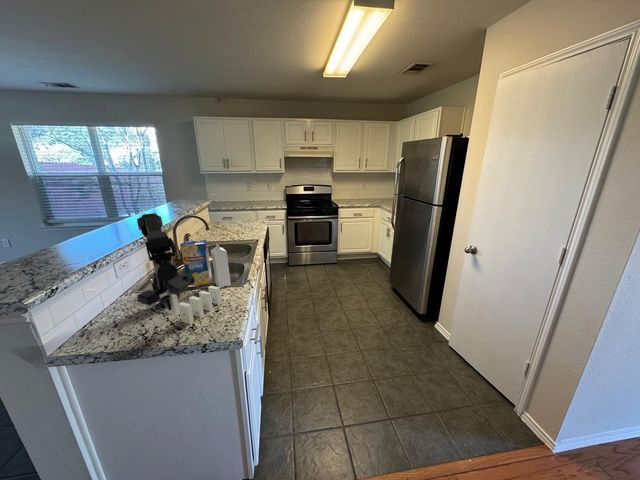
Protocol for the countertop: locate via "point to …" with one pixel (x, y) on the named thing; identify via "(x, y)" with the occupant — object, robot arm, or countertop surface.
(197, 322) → the countertop surface
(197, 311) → the domino
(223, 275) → the milk
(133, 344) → the countertop surface
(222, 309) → the countertop surface
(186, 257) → the blue cardboard box
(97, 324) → the countertop surface
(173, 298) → the domino
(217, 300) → the domino
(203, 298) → the domino
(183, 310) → the domino
